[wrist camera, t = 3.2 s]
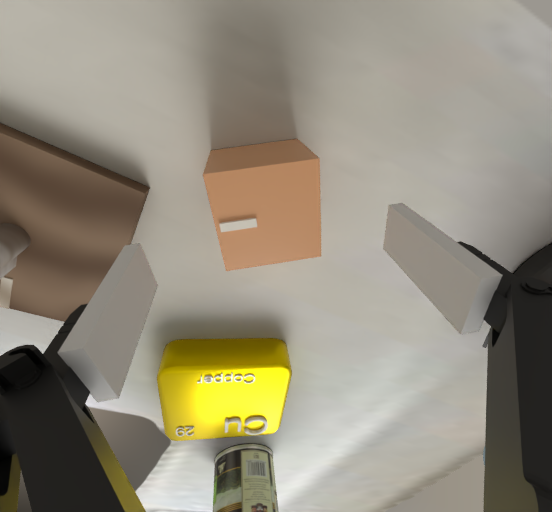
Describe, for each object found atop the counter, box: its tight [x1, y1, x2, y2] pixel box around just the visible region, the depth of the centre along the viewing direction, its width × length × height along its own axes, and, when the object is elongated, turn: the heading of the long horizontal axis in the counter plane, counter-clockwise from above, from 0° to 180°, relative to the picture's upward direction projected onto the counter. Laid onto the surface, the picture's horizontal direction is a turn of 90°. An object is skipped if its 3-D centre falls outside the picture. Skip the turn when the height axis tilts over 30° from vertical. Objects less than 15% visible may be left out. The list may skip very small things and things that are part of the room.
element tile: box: [157, 338, 292, 441], centre depth 36 cm, size 15×15×5 cm
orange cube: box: [203, 139, 321, 271], centre depth 21 cm, size 7×7×7 cm
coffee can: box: [213, 444, 278, 512], centre depth 44 cm, size 10×10×14 cm
